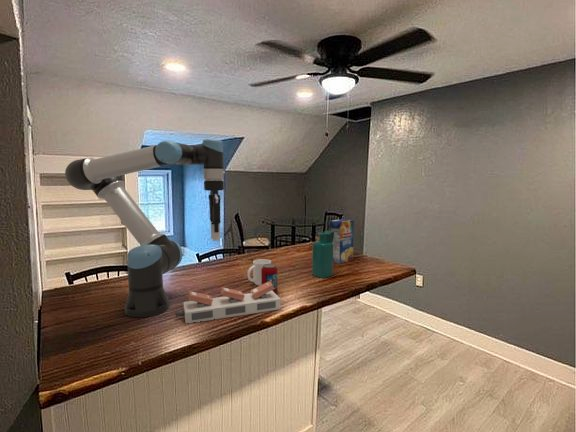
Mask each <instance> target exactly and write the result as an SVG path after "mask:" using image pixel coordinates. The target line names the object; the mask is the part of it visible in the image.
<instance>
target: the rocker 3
mask: <svg viewBox="0 0 576 432" xmlns="http://www.w3.org/2000/svg"><path fill="white" fill-rule="evenodd" d="M272 290H274V286H273V284H271V283H270V282H267V283H265V284H263V285H257V286H256V287H254V288H252V289H251V290H250V293H252V295H253V296H254V298H255V299H256V298H258V297H260V296H262V295H264V294H266V293H268V292H270V291H272Z"/></svg>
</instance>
